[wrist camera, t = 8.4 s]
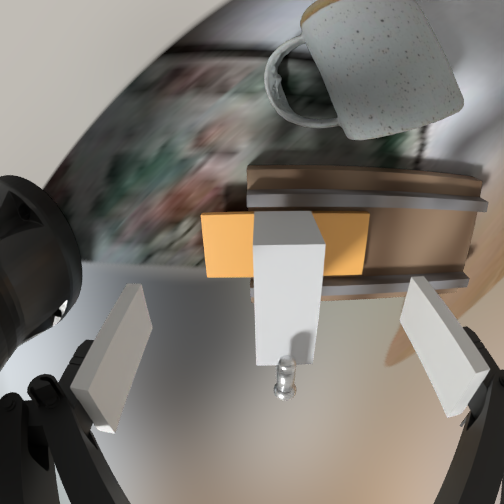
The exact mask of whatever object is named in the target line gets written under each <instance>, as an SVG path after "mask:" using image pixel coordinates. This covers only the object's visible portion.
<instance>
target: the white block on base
mask: <svg viewBox="0 0 504 504" xmlns="http://www.w3.org/2000/svg"><path fill="white" fill-rule="evenodd" d="M369 217H370V213H369V212H368V211H251V212H212V213H202V214H201V222H202V233H203V243H204V252H205V262H206V271H207V277H254V303H255V333H256V334H255V336H256V365H278V360H279V358H280V357H281V356H283V355H291V356H293V357H294V358H295V360H296V365H297V364H312V363H313V357H314V350H315V342H316V334H317V327H318V318H319V310H320V300H321V291H322V281H323V276H331V275H362V270H363V264H364V257H365V250H366V242H367V234H368V226H369Z"/></svg>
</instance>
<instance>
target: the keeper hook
mask: <svg viewBox="0 0 504 504" xmlns="http://www.w3.org/2000/svg"><path fill="white" fill-rule="evenodd" d="M275 366H276V384H275V386H274V394H275V396H276V397H277V398H278V399H279V400H282V401H288V400H290V399H292V398H293V397H294V396H295V394H296V386H295V384H294V381H295V371H296V360H295V358H294V357H293V356H291V355H283V356H281V357H280V358H279V360H278V365H275Z"/></svg>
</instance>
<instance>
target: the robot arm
mask: <svg viewBox="0 0 504 504" xmlns="http://www.w3.org/2000/svg"><path fill="white" fill-rule="evenodd" d="M81 285H82V264H81V258H80V253H79V249H78V246H77V243H76V240H75V237H74V235H73V232H72V230H71V228H70V226H69V224H68V222H67V220H66V218H65V217H64V215H63V214H62V212H61V211H60V209H59V208H58V206H57V205H56V204H55V202H54V201H53V200H52V199H51V198H50V197H49V196H48V195H47V194H46V193H45V192H44V191H43V190H42V189H41V188H40V187H38V186H37V185H35V184H34V183H32V182H31V181H29V180H27V179H24V178H21V177H18V176H13V175H6V176H1V177H0V371H1V370H2V368H3V367H4V365H5V364H6V362H7V361H8V359H9V358H10V357H11V355H12V354H13V352H14V351H15V350H16V349H17V347H19V346H20V345H22V344H23V343H25V342H27V341H29V340H30V339H32V338H34V337H35V336H37V335H38V334H41V333H42V332H44V331H46V330H47V329H49V328H51V327H52V326H54V325H56V324H58V323H59V322H60V321H61V320H62V319H63V318H64V317H65V316H66V314H67V313H68V312H69V310H70V309H71V308H72V306H73V305H74V304H75V302H76V300H77V298H78V297H79V294H80V290H81ZM400 322H401V324H402V326H403V328H404V330H405V332H406V334H407V335H408V337H409V339H410V341H411V343H412V345H413V347H414V349H415V351H416V353H417V355H418V357H419V358H420V361H421V363H422V365H423V367H424V369H425V371H426V373H427V375H428V377H429V379H430V381H431V383H432V385H433V387H434V389H435V391H436V393H437V396H438V398H439V400H440V402H441V405H442V407H443V409H444V411H445V414H446V416H447V417H448V418H449V417H452V416H455V415H459V414H461V413H462V412H463V411H464V409H465V408H466V406H467V405H468V406H469V408H470V410H471V411H470V412H469V413H468V415H467V416H466V417H465V419H464V420H463V421H462V423H461V425H460V426H461V427H462V426H463V424H464V423H465V425H464V429H463V432H462V434H461V437H460V441H459V443H458V446H457V449H456V452H455V455H454V458H453V460H452V462H451V465H450V468H449V470H448V473H447V475H446V477H445V480H444V482H443V484H442V487H441V489H440V491H439V493H438V495H437V498H436V500H435V502H434V504H494V503H495V500H496V497H497V494H498V491H499V487H500V484H501V481H502V491H501V501H500V504H504V370H500V369H499V367H498V366H497V364H496V363H495V361H494V360H493V358H492V357H491V355H490V354H489V352H488V351H487V349H486V348H485V346H484V345H483V343H482V342H480V341H481V340H480V339H479V338H478V336H477V335H476V334H475V332H473V331H472V330H471V329H470V328H468V327H462V326H461V325H460V323H459V322H458V320H457V319H456V318H455V316H454V315H453V314H452V312H451V311H450V309H449V308H448V307H447V305H446V304H445V303H444V301H443V300H442V299H441V297H440V296H439V295H438V294H437V292H436V291H435V290H434V288H433V287H432V286H431V285H430V283H429V282H428V281H427V280H426V278H425V277H424V276H417V277H411V280H410V284H409V288H408V292H407V295H406V299H405V303H404V307H403V310H402V314H401V317H400ZM152 328H153V327H152V324H151V320H150V316H149V313H148V309H147V305H146V301H145V297H144V293H143V289H142V285H141V284H127V285H126V286H125V288H124V290H123V292H122V293H121V295H120V296H119V298H118V300H117V302H116V303H115V305H114V306H113V308H112V310H111V312H110V313H109V315H108V317H107V319H106V320H105V322H104V324H103V326H102V327H101V329H100V331H99V333H98V335H97V336H96V338H95V340H85V341H84V342H83V343H82V344H81V345H80V346H79V347H78V348H77V350H76V352H75V353H74V355H73V358H72V359H71V360H70V362H69V365H68V366H67V368H66V369H65V371H64V373H63V375H62V377H61V379H60V381H59V383H58V382H57V380H56V379H55V377H54V376H52V375H49V374H43V375H39V376H37V377H36V378H34V379H33V380H32V381H31V382H30V384H29V386H28V389H27V390H28V391H27V393H28V395H29V396H30V397H31V399H32V400H28V401H24V400H23V399H22V398H21V396H20V395H19V394H17V393H13V392H12V393H8V394H5V395H4V396H3V397H2V398H1V399H0V504H60V501H59V495H58V489H57V482H56V474H55V465H56V468H57V471H58V473H59V476H60V478H61V481H62V484H63V486H64V488H65V491H66V493H67V495H68V498H69V500H70V502H71V504H130V502H129V501H128V499H127V497H126V496H125V494H124V492H123V490H122V489H121V487H120V485H119V484H118V482H117V480H116V478H115V476H114V475H113V473H112V471H111V469H110V467H109V465H108V464H107V462H106V460H105V458H104V456H103V454H102V452H101V450H100V448H99V446H98V444H97V442H96V440H95V437H94V435H93V433H92V432H91V431H90V429H91V426H92V424H93V423H94V425H95V426H96V428H97V429H98V430H99V431H104V432H109V433H115V432H116V429H117V426H118V423H119V420H120V417H121V414H122V411H123V408H124V405H125V402H126V399H127V396H128V393H129V391H130V388H131V385H132V382H133V379H134V377H135V374H136V371H137V368H138V365H139V363H140V360H141V357H142V355H143V352H144V349H145V347H146V344H147V341H148V339H149V336H150V334H151V331H152ZM54 463H55V465H54Z"/></svg>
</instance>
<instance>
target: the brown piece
mask: <svg viewBox="0 0 504 504" xmlns="http://www.w3.org/2000/svg"><path fill="white" fill-rule="evenodd" d="M481 187H482V181H481V180H479V179H476V178H474V177H472V176H465V175H457V174H448V173H439V172H429V171H418V170H406V169H393V168H377V167H358V166H331V165H248V166H247V207H248V212H251V211H368V212H369V213H370V217H369V226H368V234H367V242H366V250H365V257H364V264H363V270H362V275H331V276H323V281H322V291H321V300H320V301H334V300H356V299H375V298H391V297H406V295H407V292H408V288H409V284H410V280H411V277H417V276H424V277H425V278H426V280H427V281H428V282H429V283H430V285H431V286H432V287H433V288H434V290H435V291H436V292H437V294H444V293H455V292H457V289H458V288H461V287H467V285H468V282H469V278H468V277H467V275H466V274H465V273H464V272H463V269H464V266H465V262H466V258H467V254H468V251H469V247H470V243H471V238H472V234H473V230H474V225H475V220H476V215H477V212H487V207H488V202H487V201H485V200H484V199H482V198H480V194H481ZM250 295H251V296H250V297H251V302H252V303H254V277H251V283H250Z"/></svg>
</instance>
